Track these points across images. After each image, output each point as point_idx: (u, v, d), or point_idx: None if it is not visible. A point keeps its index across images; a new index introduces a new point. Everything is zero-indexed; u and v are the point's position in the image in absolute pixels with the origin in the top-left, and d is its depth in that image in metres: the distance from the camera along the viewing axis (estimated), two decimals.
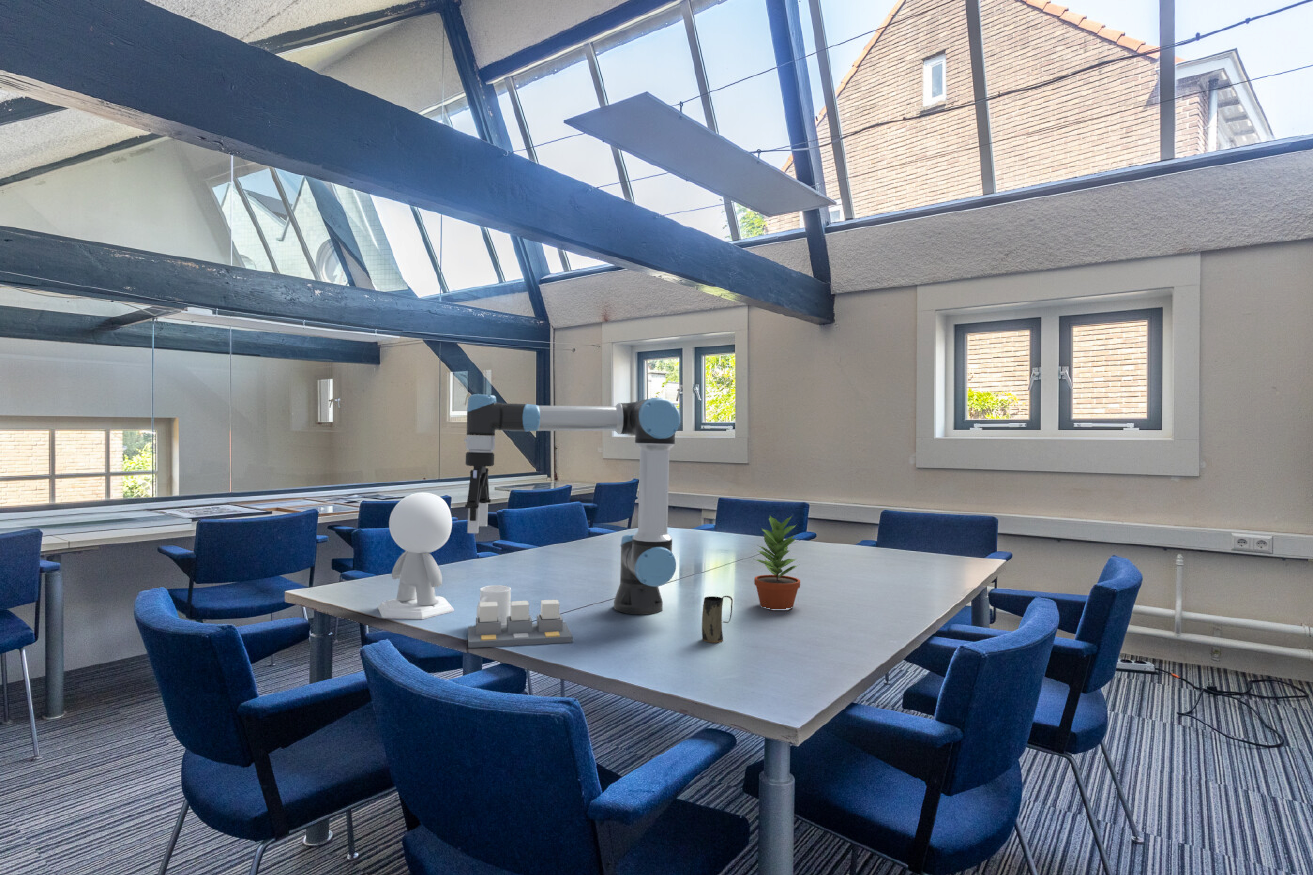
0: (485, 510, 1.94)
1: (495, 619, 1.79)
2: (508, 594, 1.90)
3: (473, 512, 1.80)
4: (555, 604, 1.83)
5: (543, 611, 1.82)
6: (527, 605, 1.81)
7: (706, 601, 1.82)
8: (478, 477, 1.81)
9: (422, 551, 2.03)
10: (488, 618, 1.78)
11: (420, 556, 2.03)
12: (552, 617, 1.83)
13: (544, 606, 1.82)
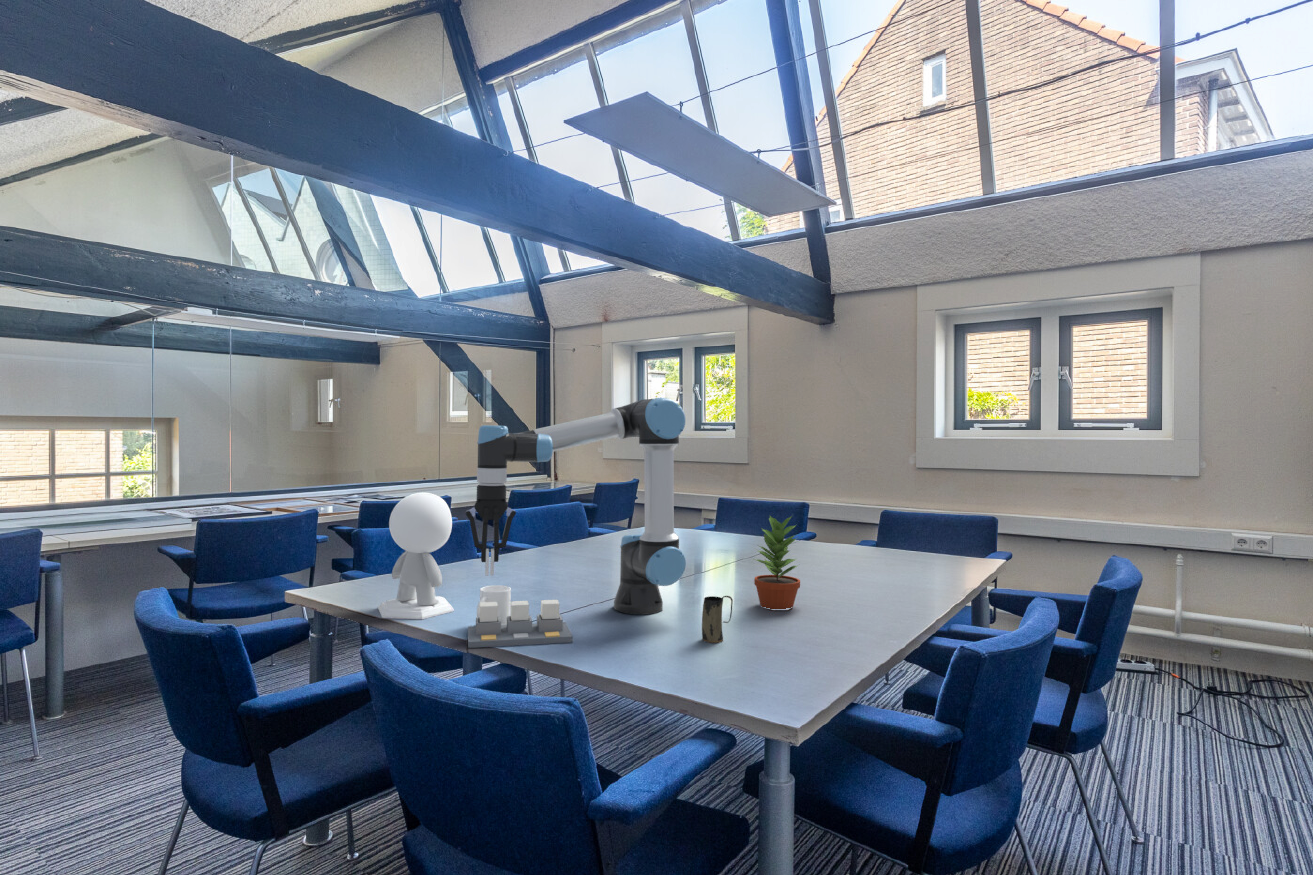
0: (491, 557, 1.80)
1: (495, 619, 1.79)
2: (508, 594, 1.90)
3: (481, 553, 1.80)
4: (555, 604, 1.83)
5: (543, 611, 1.82)
6: (527, 605, 1.81)
7: (706, 601, 1.82)
8: (468, 518, 1.78)
9: (422, 551, 2.03)
10: (488, 618, 1.78)
11: (420, 556, 2.03)
12: (552, 617, 1.83)
13: (544, 606, 1.82)
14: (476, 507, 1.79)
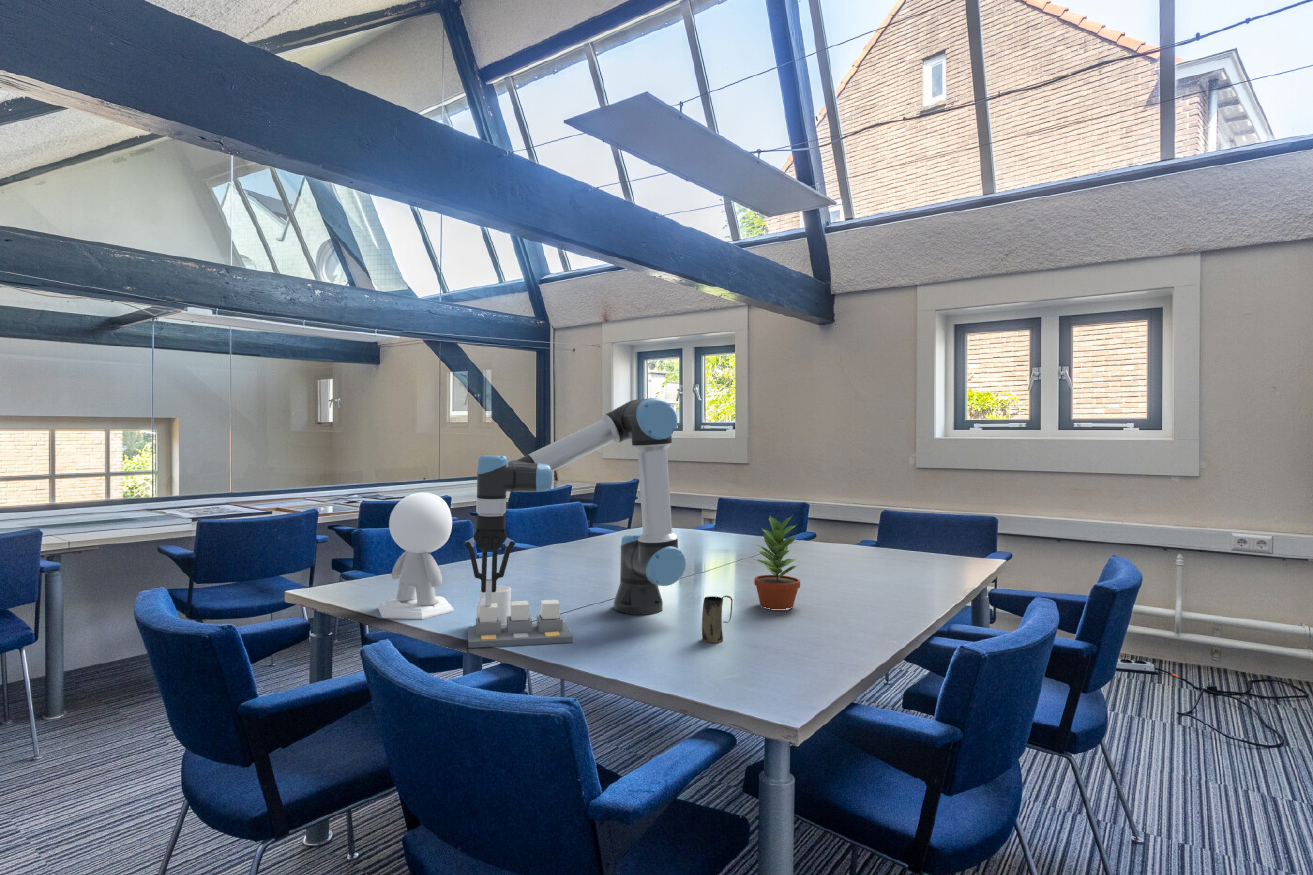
0: None
1: (495, 620, 1.79)
2: (508, 594, 1.90)
3: (481, 583, 1.80)
4: (555, 604, 1.83)
5: (543, 611, 1.82)
6: (527, 605, 1.81)
7: (706, 601, 1.82)
8: (468, 549, 1.78)
9: (422, 551, 2.03)
10: (488, 619, 1.78)
11: (420, 556, 2.03)
12: (552, 617, 1.83)
13: (544, 606, 1.82)
14: (475, 537, 1.79)
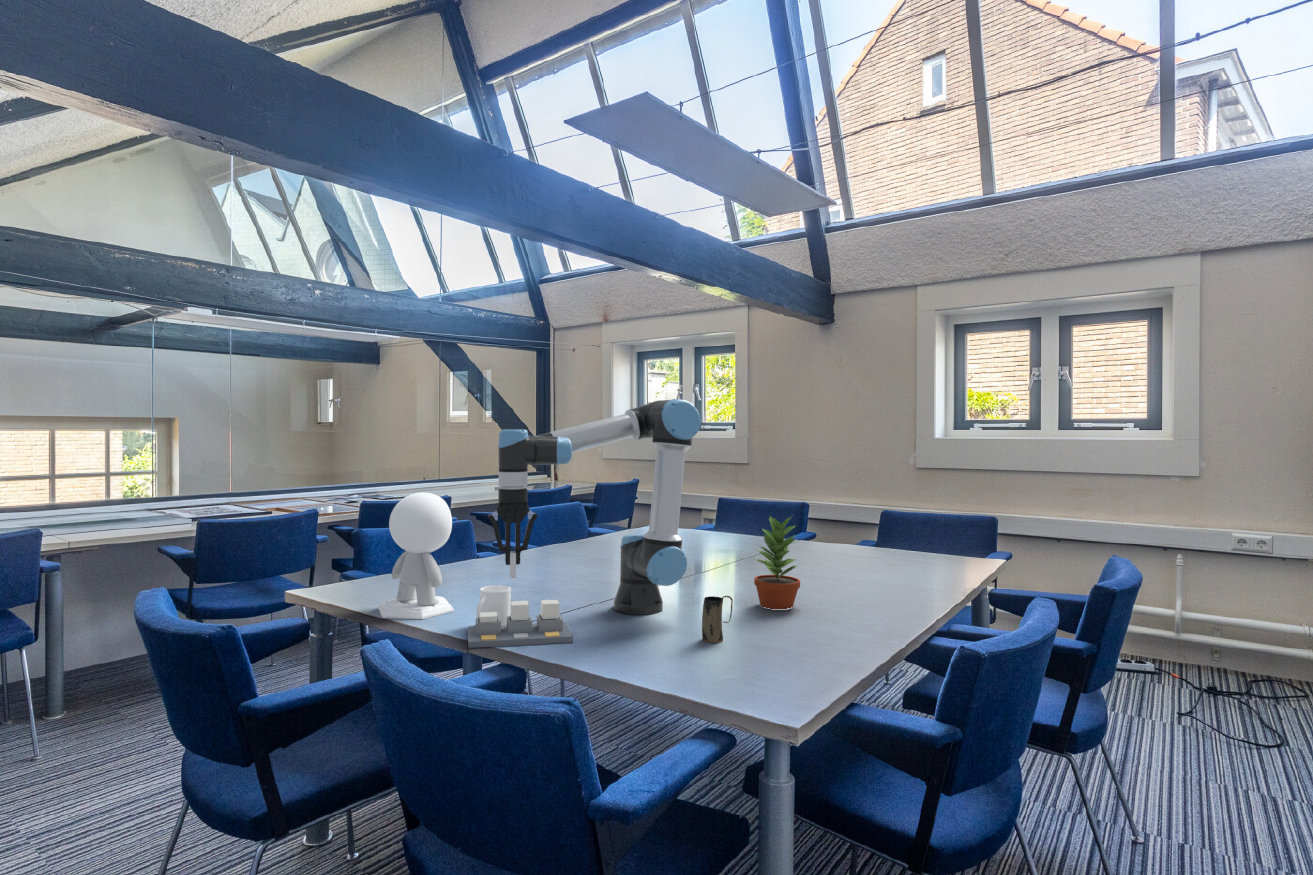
0: None
1: None
2: (508, 594, 1.90)
3: (505, 556, 1.82)
4: (555, 604, 1.83)
5: (543, 611, 1.82)
6: (527, 605, 1.81)
7: (706, 601, 1.82)
8: (491, 522, 1.80)
9: (422, 551, 2.03)
10: None
11: (420, 556, 2.03)
12: (552, 617, 1.83)
13: (544, 606, 1.82)
14: (498, 511, 1.80)
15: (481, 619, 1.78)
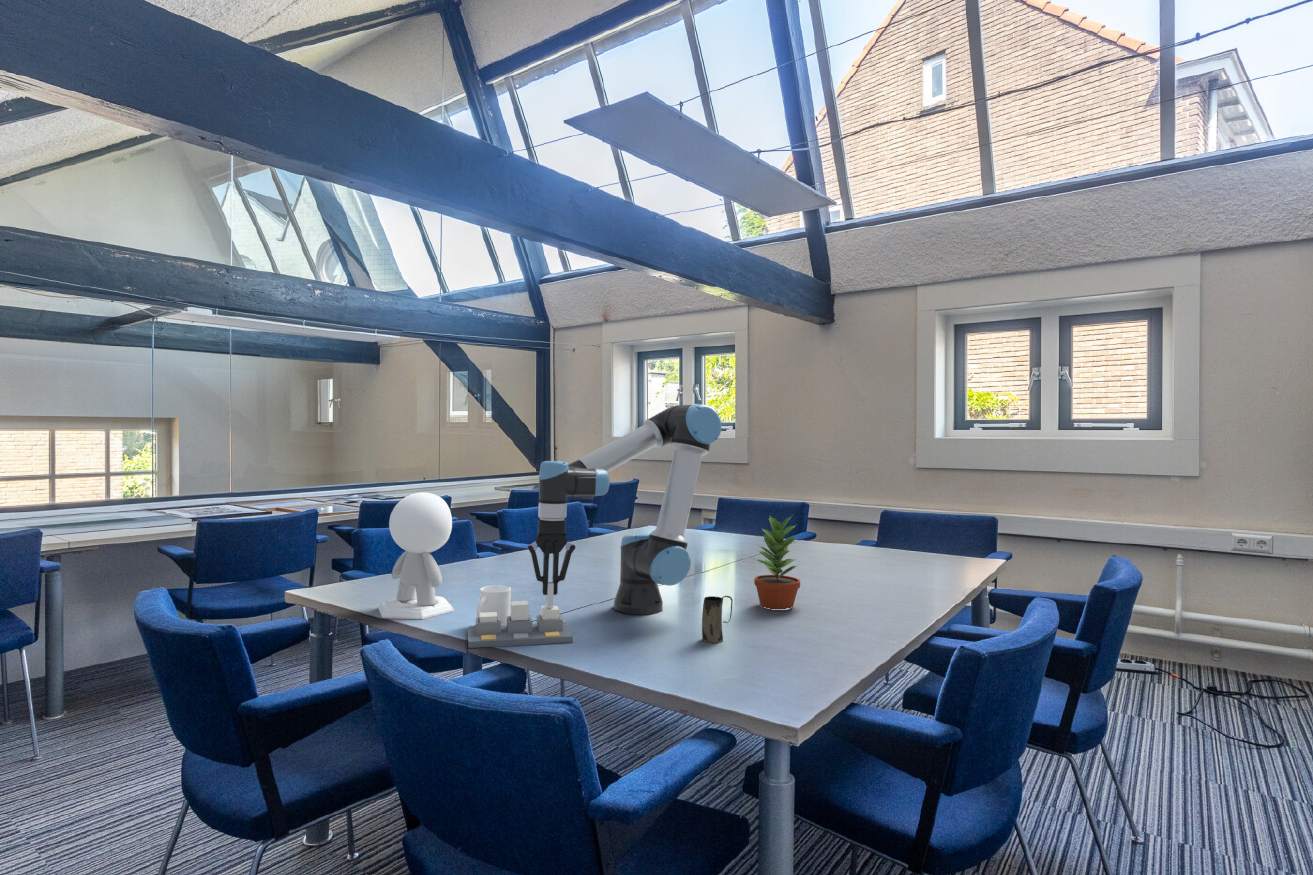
0: None
1: None
2: (508, 594, 1.90)
3: (543, 586, 1.84)
4: (555, 610, 1.83)
5: (543, 617, 1.82)
6: (527, 605, 1.81)
7: (706, 601, 1.82)
8: (530, 552, 1.82)
9: (422, 551, 2.03)
10: None
11: (420, 556, 2.03)
12: None
13: (544, 612, 1.82)
14: (537, 541, 1.83)
15: (481, 619, 1.78)
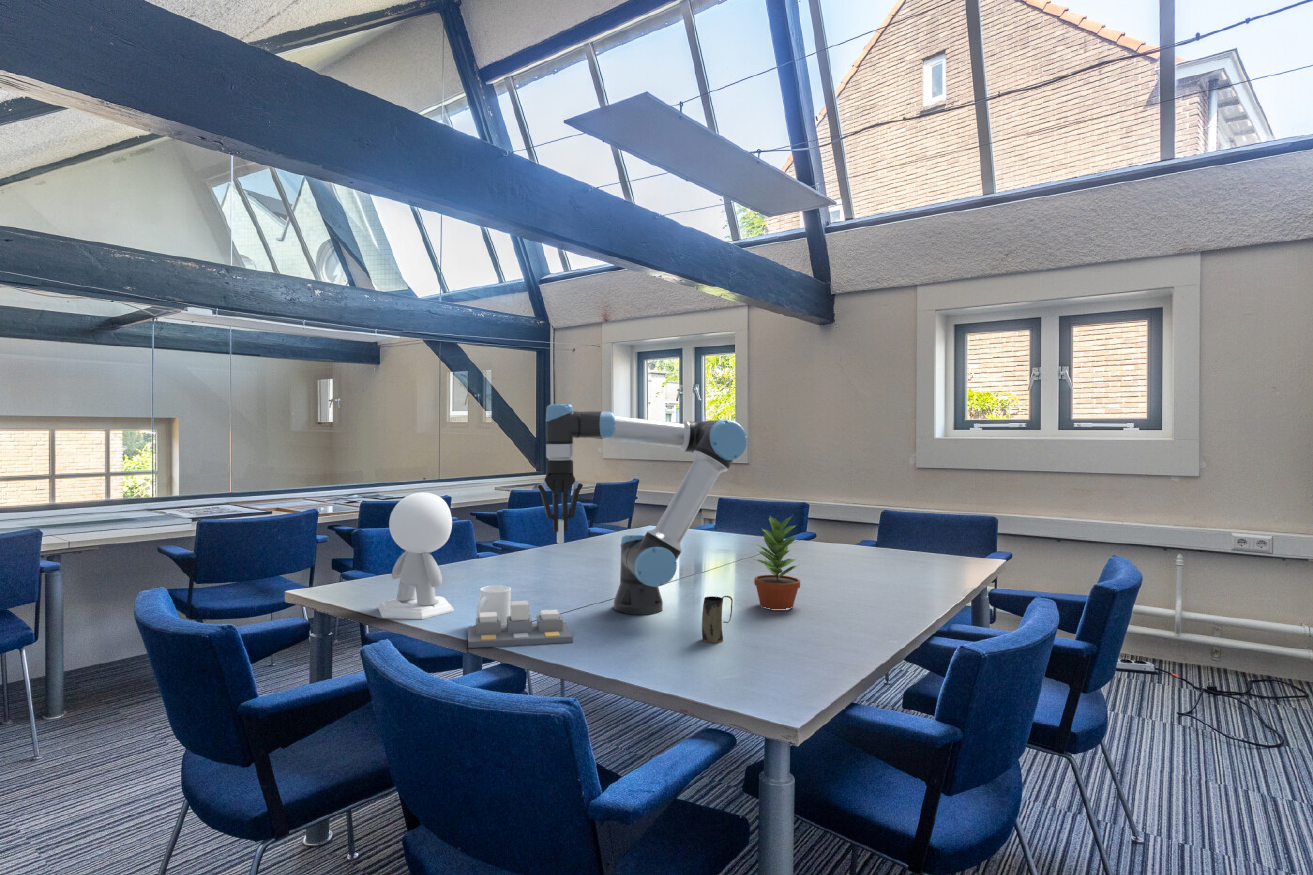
0: None
1: None
2: (508, 594, 1.90)
3: (553, 523, 1.93)
4: (555, 614, 1.83)
5: None
6: (527, 605, 1.81)
7: (706, 601, 1.82)
8: (541, 492, 1.91)
9: (422, 551, 2.03)
10: None
11: (420, 556, 2.03)
12: None
13: (544, 616, 1.82)
14: (547, 481, 1.92)
15: (481, 619, 1.78)
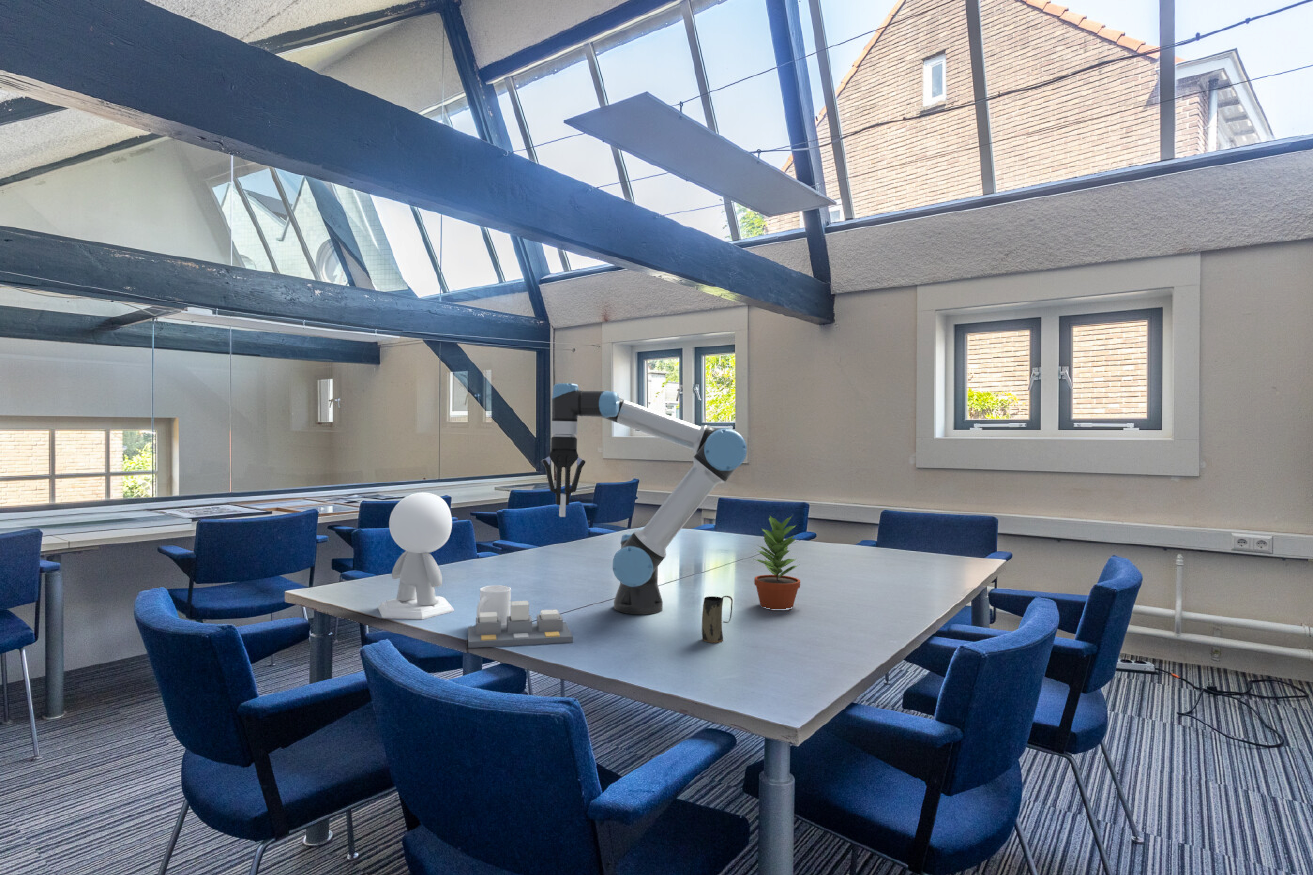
0: None
1: None
2: (508, 594, 1.90)
3: (556, 497, 2.02)
4: (555, 614, 1.83)
5: None
6: (527, 605, 1.81)
7: (706, 601, 1.82)
8: (545, 466, 2.01)
9: (422, 551, 2.03)
10: None
11: (420, 556, 2.03)
12: None
13: (544, 616, 1.82)
14: (551, 456, 2.01)
15: (481, 619, 1.78)
